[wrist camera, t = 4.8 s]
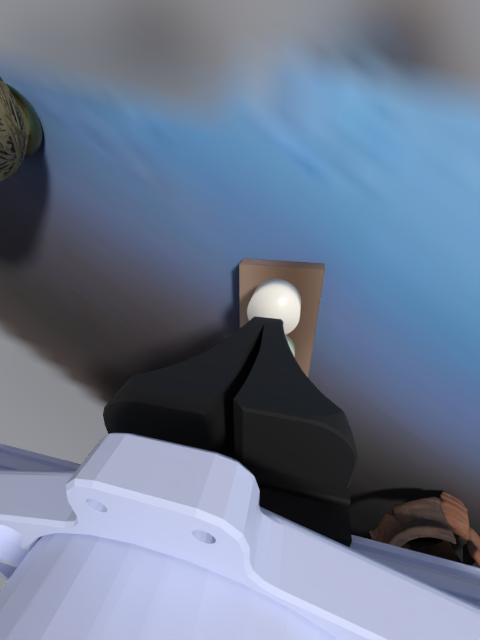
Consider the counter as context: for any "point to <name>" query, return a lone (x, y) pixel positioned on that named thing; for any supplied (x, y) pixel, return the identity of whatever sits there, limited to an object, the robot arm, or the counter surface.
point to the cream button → (276, 303)
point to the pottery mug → (430, 528)
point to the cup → (16, 130)
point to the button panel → (308, 286)
